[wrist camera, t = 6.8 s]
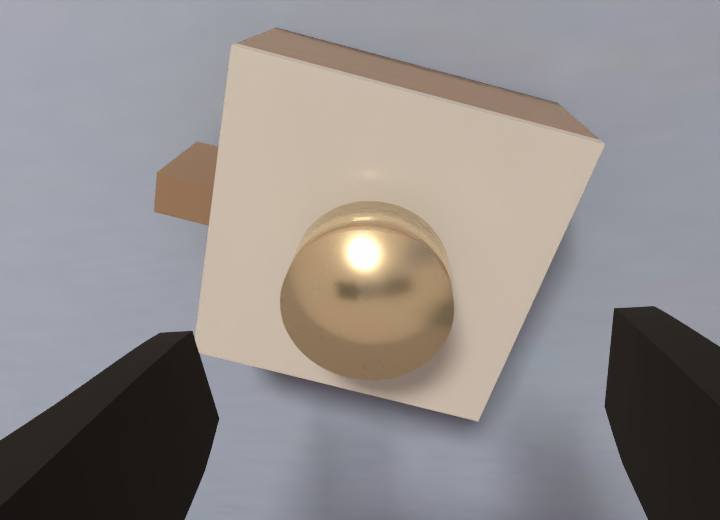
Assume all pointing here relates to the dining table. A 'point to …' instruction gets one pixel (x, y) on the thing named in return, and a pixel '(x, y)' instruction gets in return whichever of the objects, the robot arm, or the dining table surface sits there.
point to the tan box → (376, 183)
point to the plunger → (368, 292)
